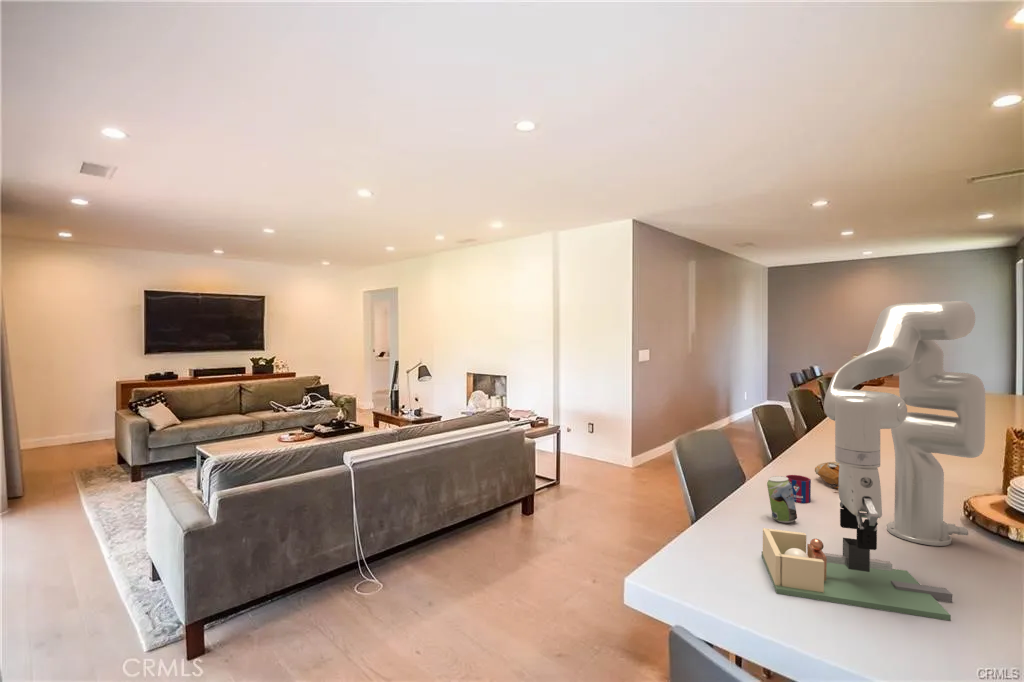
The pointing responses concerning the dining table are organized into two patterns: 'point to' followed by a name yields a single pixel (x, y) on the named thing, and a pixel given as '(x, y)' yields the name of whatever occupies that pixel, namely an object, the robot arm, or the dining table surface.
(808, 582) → the pitch
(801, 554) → the ball
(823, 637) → the dining table surface
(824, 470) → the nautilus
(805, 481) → the mug
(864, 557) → the copper sphere contraption
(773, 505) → the beverage can
